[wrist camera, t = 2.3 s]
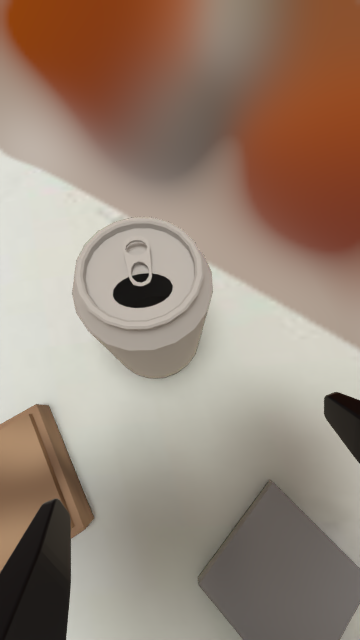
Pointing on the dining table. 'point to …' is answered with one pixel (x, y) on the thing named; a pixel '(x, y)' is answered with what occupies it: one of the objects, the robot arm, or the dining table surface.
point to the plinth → (35, 476)
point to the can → (144, 294)
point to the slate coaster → (282, 575)
